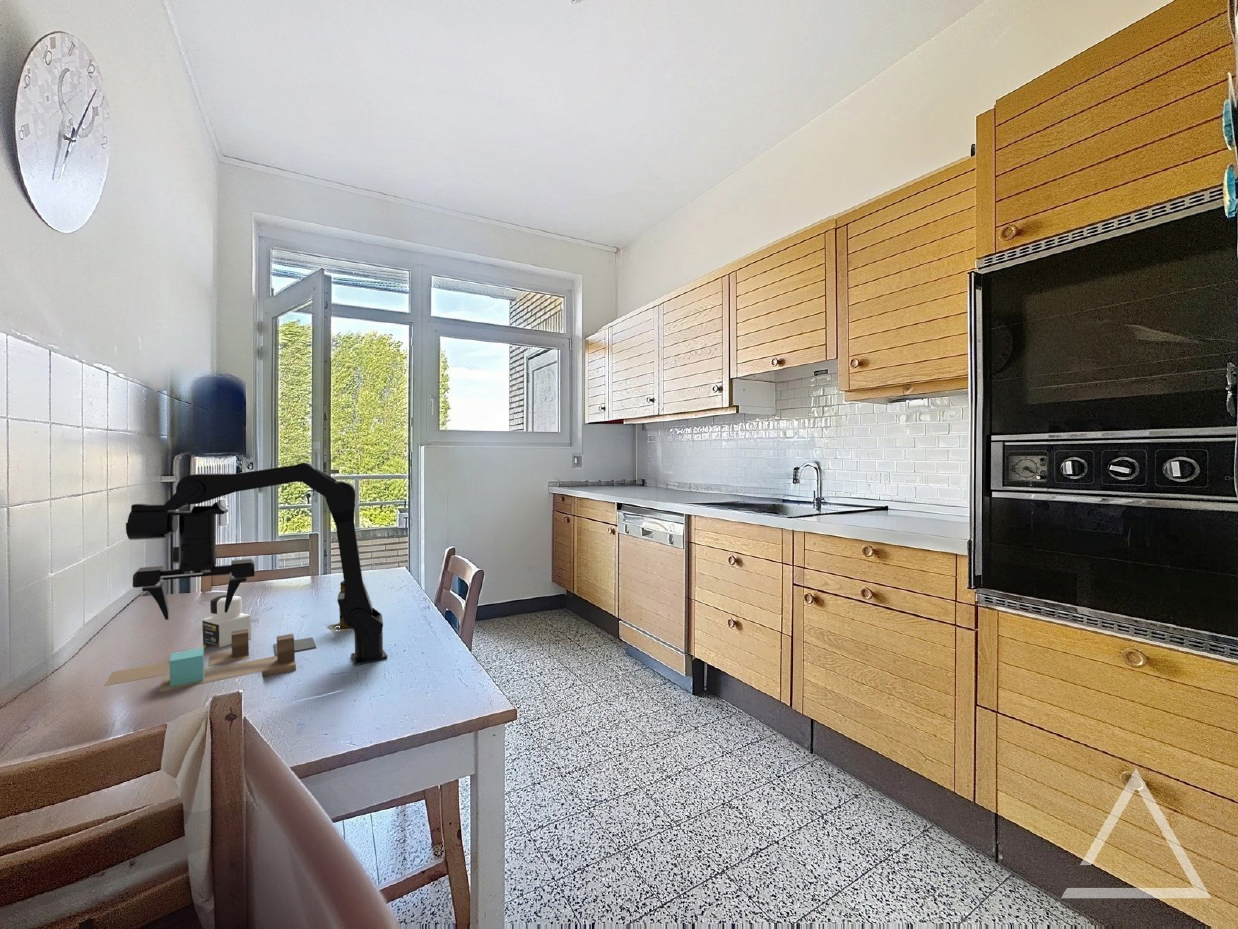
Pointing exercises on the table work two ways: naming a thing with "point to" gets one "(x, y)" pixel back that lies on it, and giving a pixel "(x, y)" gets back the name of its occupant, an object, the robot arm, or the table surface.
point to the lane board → (138, 673)
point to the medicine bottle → (224, 622)
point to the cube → (187, 667)
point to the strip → (249, 666)
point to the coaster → (301, 645)
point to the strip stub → (233, 649)
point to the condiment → (342, 625)
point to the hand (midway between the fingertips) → (197, 615)
